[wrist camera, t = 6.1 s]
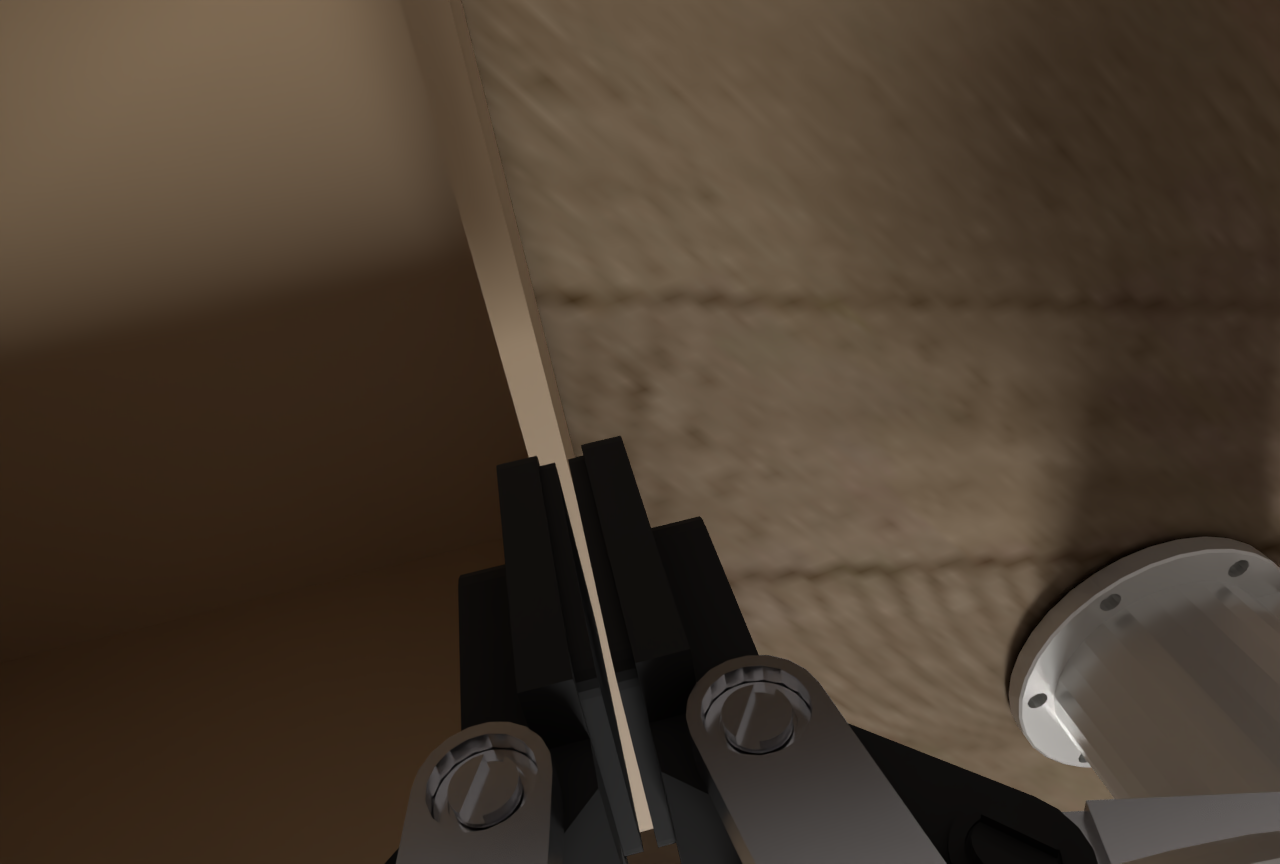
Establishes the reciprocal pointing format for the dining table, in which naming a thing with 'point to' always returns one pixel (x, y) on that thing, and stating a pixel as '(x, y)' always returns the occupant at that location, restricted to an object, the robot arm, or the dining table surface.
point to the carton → (249, 421)
